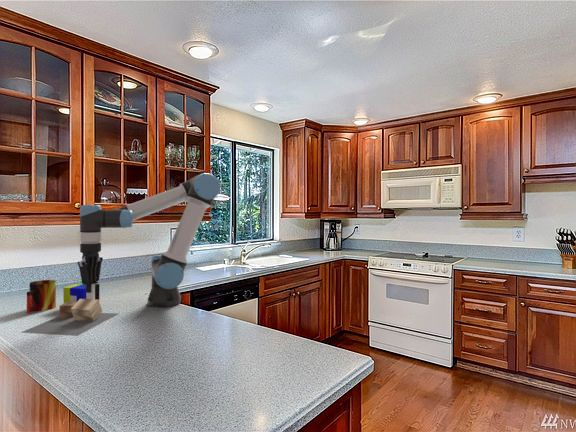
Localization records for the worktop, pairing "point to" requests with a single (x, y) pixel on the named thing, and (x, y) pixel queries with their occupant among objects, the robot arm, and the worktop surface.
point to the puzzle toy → (78, 292)
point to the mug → (41, 295)
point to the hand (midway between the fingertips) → (90, 299)
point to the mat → (68, 325)
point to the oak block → (86, 310)
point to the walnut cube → (66, 310)
